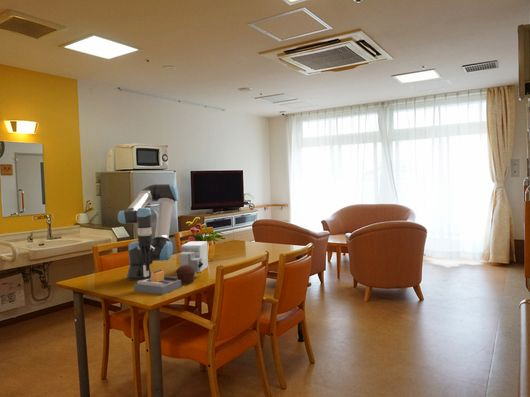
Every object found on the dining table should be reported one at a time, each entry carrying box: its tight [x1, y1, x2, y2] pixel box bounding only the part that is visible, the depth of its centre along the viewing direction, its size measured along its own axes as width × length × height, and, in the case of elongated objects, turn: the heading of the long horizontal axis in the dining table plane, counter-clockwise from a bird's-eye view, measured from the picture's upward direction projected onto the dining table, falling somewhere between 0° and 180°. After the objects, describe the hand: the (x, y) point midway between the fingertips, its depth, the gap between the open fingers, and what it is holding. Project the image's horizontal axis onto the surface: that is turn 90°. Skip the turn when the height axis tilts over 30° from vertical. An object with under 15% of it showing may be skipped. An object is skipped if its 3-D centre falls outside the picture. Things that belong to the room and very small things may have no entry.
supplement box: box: [180, 240, 209, 273], centre depth 274 cm, size 17×13×18 cm
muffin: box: [175, 265, 196, 285], centre depth 240 cm, size 12×11×10 cm
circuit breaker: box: [177, 252, 203, 277], centre depth 254 cm, size 8×14×15 cm, turn 79°
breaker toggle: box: [150, 269, 165, 282], centre depth 226 cm, size 4×6×6 cm, turn 155°
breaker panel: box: [133, 275, 182, 295], centre depth 226 cm, size 20×16×6 cm
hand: (146, 276), depth 229 cm, fingers closed
